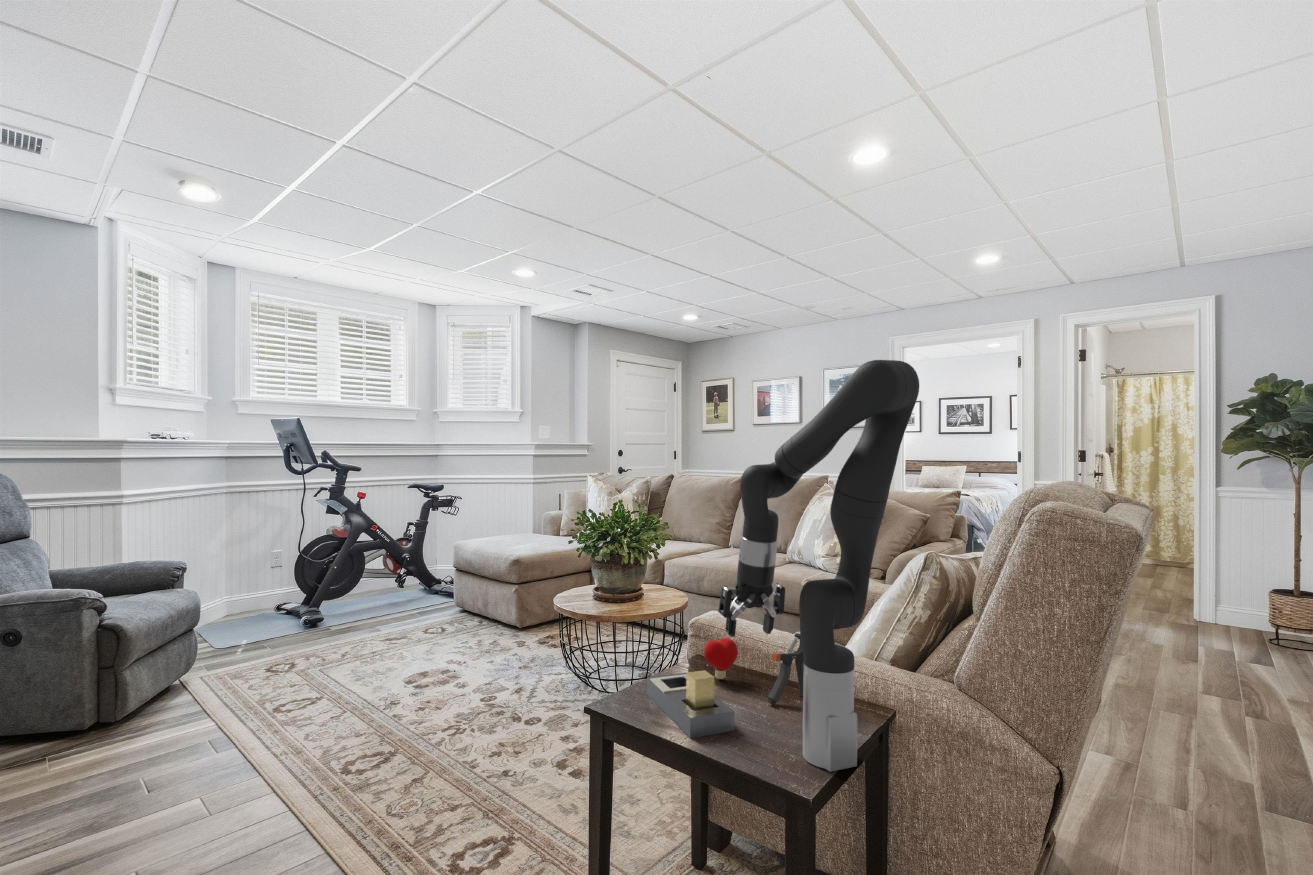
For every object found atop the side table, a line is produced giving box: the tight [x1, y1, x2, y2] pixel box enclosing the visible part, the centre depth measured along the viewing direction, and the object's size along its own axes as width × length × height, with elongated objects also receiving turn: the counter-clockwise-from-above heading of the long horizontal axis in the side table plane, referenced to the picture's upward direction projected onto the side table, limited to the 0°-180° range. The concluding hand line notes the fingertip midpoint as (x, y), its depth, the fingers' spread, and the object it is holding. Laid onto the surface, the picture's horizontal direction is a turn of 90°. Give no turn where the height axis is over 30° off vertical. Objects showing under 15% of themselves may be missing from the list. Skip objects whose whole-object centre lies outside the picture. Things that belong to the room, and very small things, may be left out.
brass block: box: [686, 669, 715, 711], centre depth 130 cm, size 4×4×10 cm
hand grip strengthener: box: [766, 632, 804, 706], centre depth 143 cm, size 2×13×15 cm, turn 123°
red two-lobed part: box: [703, 637, 739, 681], centre depth 156 cm, size 9×7×10 cm
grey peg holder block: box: [646, 672, 736, 739], centre depth 136 cm, size 24×10×4 cm, turn 22°
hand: (749, 633), depth 129 cm, fingers open, 8 cm apart
